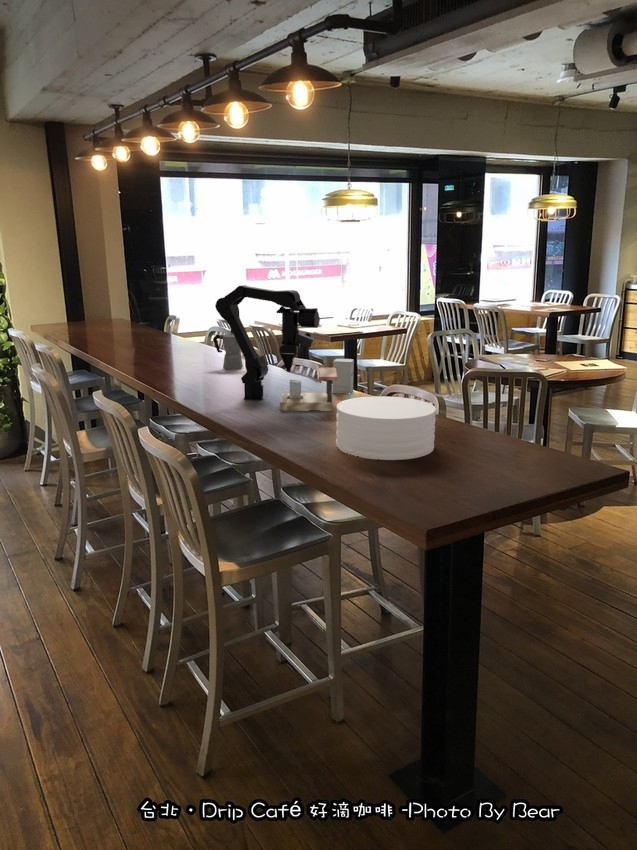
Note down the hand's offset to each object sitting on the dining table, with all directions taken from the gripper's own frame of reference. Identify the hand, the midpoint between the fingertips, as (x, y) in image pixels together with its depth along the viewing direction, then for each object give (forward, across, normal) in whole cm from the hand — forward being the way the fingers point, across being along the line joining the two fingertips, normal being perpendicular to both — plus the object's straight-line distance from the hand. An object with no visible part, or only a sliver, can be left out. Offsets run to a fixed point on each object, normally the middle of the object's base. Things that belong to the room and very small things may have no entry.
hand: (289, 369), depth 247 cm
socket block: (+12, -7, -7) cm, 15 cm away
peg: (+12, -7, -3) cm, 14 cm away
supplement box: (+12, +17, -20) cm, 29 cm away
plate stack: (+12, -55, -31) cm, 65 cm away
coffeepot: (+13, +68, +32) cm, 76 cm away
